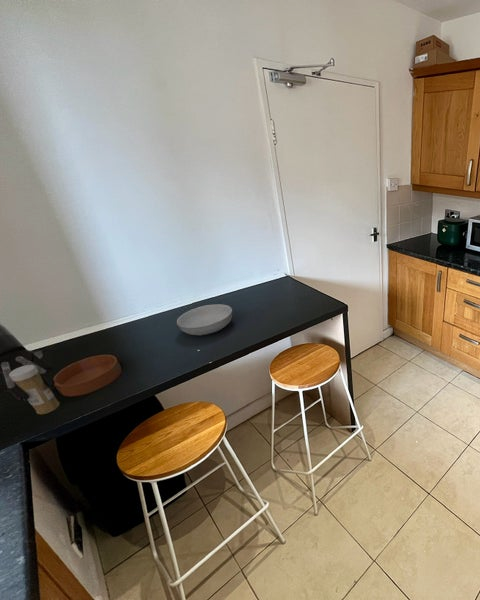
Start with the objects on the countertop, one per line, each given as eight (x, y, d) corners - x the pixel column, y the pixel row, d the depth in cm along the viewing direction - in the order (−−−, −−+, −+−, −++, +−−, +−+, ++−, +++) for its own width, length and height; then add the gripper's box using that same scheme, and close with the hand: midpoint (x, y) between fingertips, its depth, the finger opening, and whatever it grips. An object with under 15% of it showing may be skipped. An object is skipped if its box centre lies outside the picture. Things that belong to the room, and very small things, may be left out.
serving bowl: (245, 323, 141) (241, 310, 138) (198, 347, 125) (193, 333, 122) (218, 312, 151) (214, 299, 147) (172, 332, 135) (166, 319, 131)
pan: (63, 404, 98) (55, 393, 96) (56, 381, 108) (50, 371, 106) (126, 377, 109) (121, 367, 107) (116, 359, 119) (111, 349, 117)
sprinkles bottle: (64, 403, 86) (39, 365, 80) (45, 416, 82) (17, 376, 76) (51, 401, 87) (25, 362, 81) (31, 413, 83) (2, 374, 77)
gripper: (-55, 352, 72) (-2, 407, 73) (30, 323, 84) (74, 371, 85) (-49, 364, 77) (1, 416, 78) (31, 335, 88) (73, 380, 89)
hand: (39, 392), depth 81 cm, fingers closed on sprinkles bottle, 4 cm apart
